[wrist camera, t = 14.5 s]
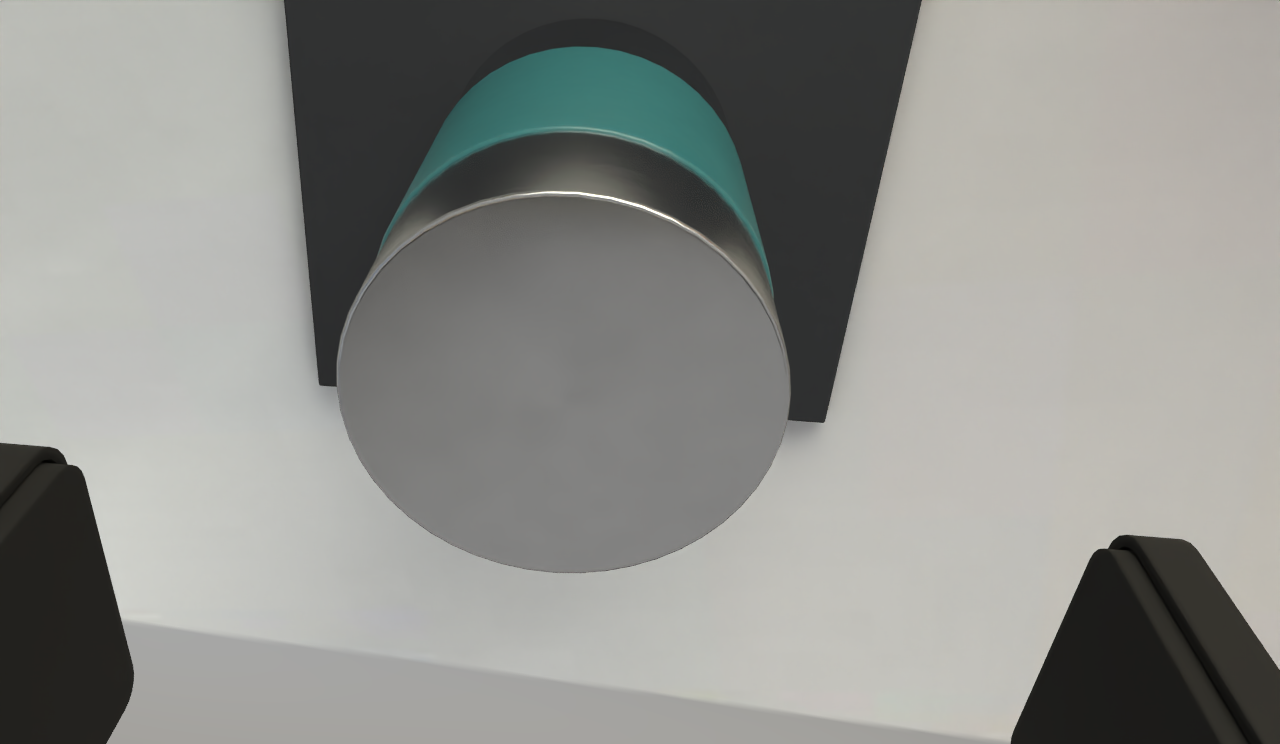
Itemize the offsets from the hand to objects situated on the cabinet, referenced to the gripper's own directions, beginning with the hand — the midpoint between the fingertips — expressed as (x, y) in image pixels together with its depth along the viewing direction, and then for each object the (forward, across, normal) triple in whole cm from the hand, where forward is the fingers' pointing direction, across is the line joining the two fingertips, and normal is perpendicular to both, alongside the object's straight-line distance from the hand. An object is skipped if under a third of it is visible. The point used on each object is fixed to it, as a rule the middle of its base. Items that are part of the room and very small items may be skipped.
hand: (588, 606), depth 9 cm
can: (+13, +1, 0) cm, 13 cm away
